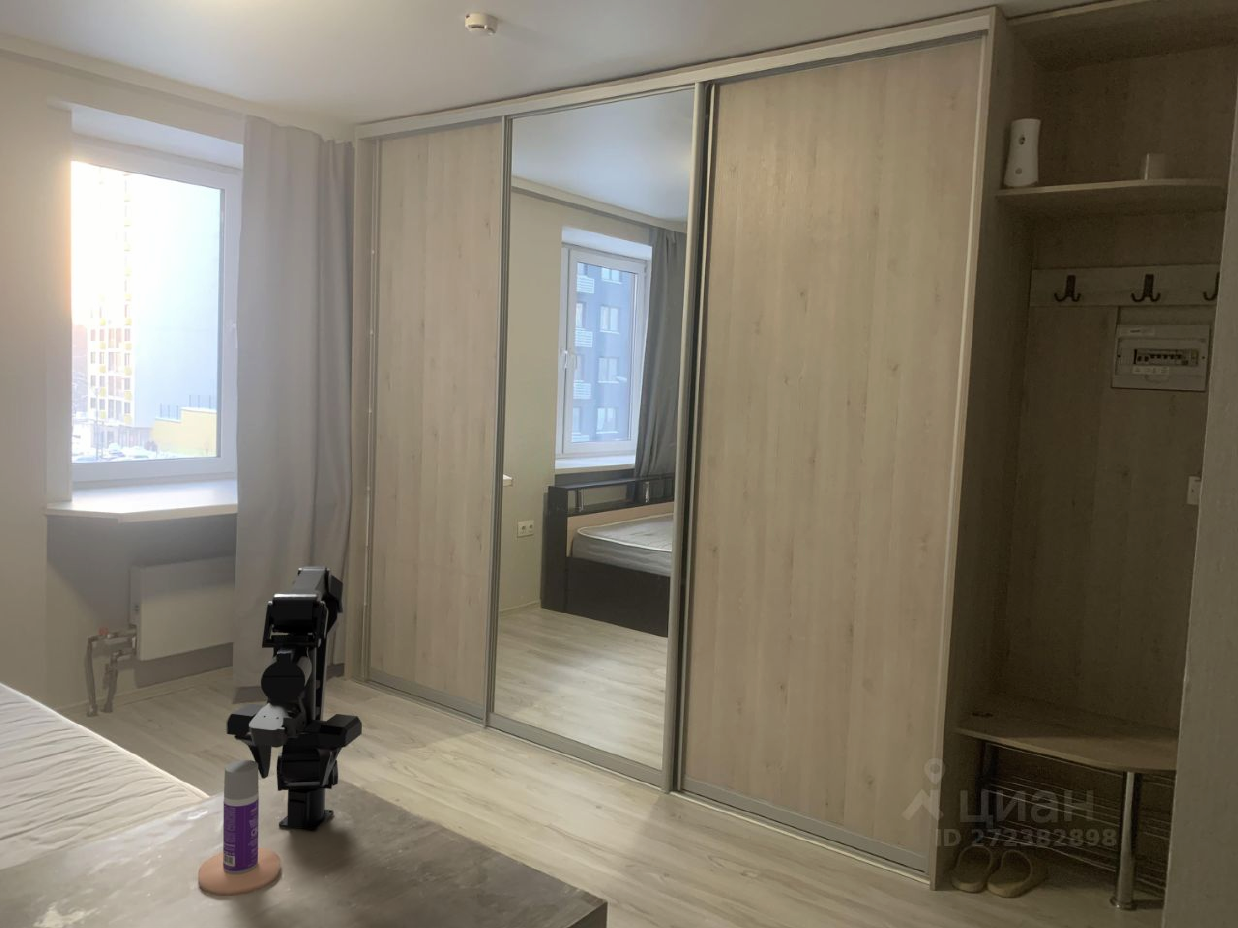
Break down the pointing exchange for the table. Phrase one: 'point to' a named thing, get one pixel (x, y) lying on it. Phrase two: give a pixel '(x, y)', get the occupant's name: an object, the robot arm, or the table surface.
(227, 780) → the container
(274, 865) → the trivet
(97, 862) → the table surface
